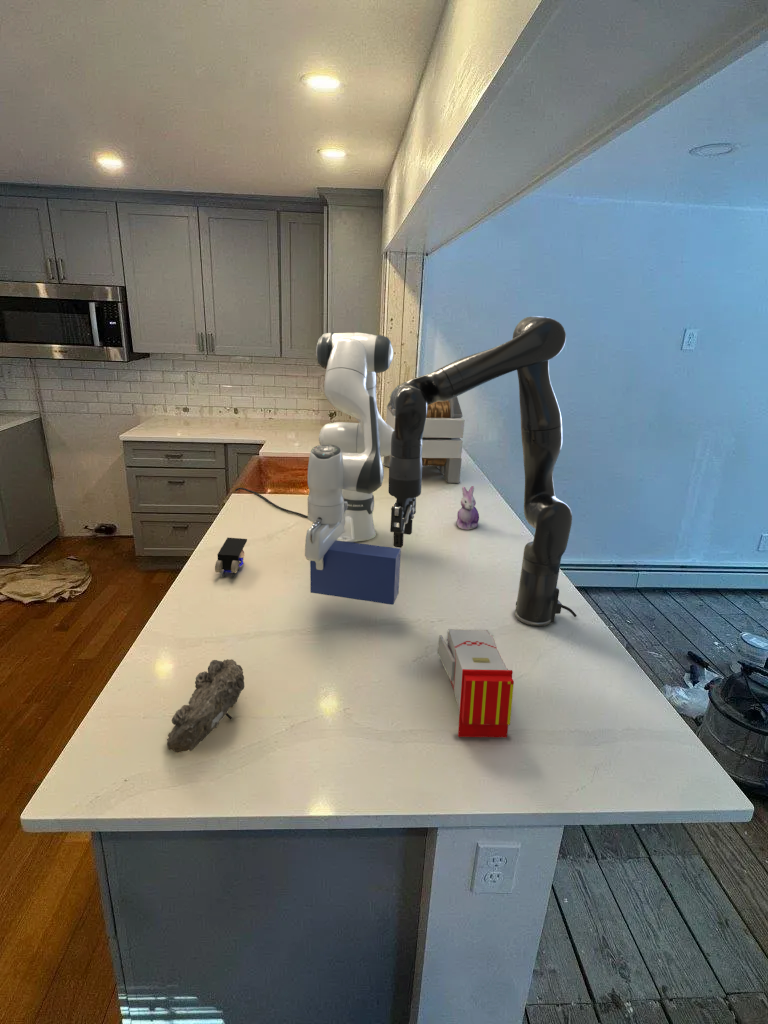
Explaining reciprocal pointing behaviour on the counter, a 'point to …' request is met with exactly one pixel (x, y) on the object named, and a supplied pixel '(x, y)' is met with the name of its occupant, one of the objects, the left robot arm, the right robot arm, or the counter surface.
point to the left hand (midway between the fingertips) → (325, 562)
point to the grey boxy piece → (439, 437)
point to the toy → (478, 682)
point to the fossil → (206, 705)
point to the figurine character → (230, 556)
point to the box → (358, 572)
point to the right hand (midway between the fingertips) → (402, 540)
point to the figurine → (468, 510)
